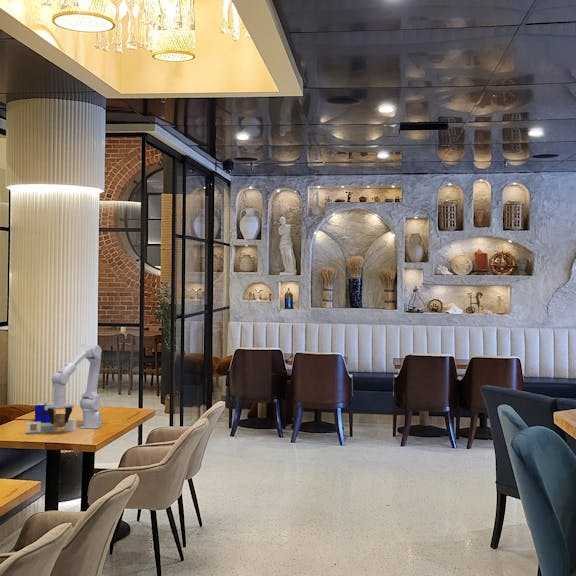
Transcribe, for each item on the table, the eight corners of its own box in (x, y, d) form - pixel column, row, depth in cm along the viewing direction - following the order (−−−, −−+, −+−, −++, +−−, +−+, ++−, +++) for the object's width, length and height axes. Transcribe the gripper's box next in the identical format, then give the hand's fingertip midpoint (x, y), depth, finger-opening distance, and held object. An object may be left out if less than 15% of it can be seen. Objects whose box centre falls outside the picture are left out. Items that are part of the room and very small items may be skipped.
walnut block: (65, 425, 379) (65, 414, 379) (62, 427, 374) (62, 415, 374) (56, 425, 380) (56, 413, 380) (52, 427, 375) (53, 415, 375)
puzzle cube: (34, 423, 406) (34, 405, 406) (37, 420, 416) (37, 402, 416) (53, 423, 408) (53, 404, 408) (55, 419, 418) (55, 402, 418)
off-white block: (76, 429, 389) (76, 418, 389) (72, 431, 384) (73, 419, 384) (67, 429, 389) (67, 418, 389) (63, 431, 385) (64, 419, 385)
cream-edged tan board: (40, 432, 380) (40, 421, 380) (40, 433, 376) (40, 422, 376) (26, 433, 377) (26, 421, 378) (25, 434, 374) (26, 422, 374)
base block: (57, 429, 390) (57, 423, 390) (51, 432, 381) (51, 426, 381) (41, 429, 390) (41, 422, 390) (34, 432, 381) (35, 425, 382)
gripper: (71, 394, 384) (71, 420, 384) (43, 396, 377) (42, 423, 377) (75, 396, 378) (75, 422, 378) (46, 398, 371) (46, 425, 371)
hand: (59, 423), depth 377 cm, fingers closed on walnut block, 7 cm apart
